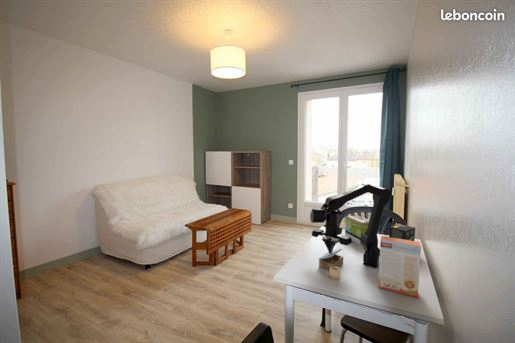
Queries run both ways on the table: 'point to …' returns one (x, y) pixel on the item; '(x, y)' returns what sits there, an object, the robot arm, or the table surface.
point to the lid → (330, 254)
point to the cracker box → (399, 265)
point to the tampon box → (402, 232)
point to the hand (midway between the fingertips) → (330, 253)
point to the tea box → (355, 227)
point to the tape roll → (334, 272)
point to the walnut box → (331, 262)
